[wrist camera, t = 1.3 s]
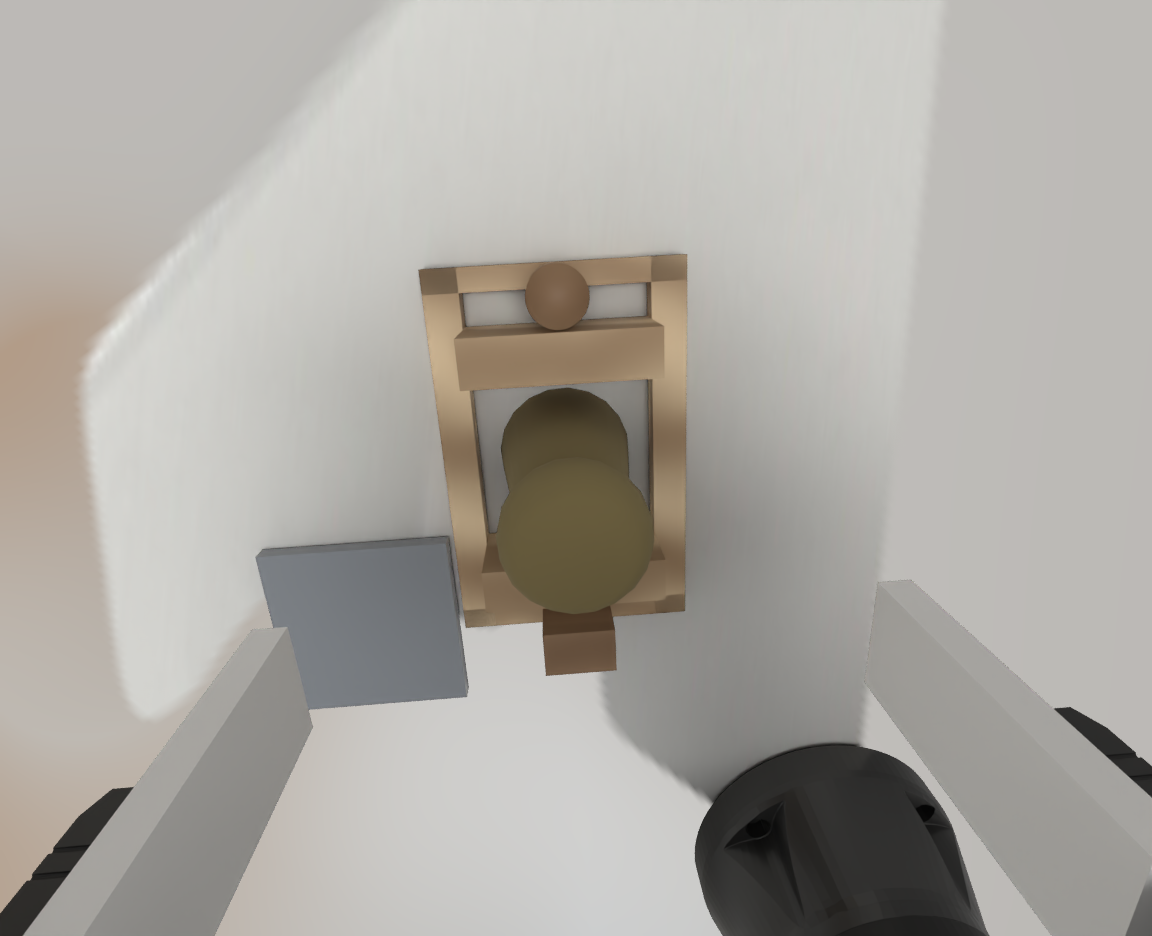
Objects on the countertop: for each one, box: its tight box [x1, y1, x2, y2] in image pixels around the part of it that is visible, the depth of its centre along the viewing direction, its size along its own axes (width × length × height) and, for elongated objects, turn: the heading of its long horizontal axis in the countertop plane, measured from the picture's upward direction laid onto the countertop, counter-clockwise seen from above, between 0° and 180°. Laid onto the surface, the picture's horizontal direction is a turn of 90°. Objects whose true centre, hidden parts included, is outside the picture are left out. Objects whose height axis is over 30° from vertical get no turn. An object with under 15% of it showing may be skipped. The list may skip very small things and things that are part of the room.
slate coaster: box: [255, 536, 469, 710], centre depth 31 cm, size 9×9×1 cm
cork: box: [496, 388, 654, 614], centre depth 24 cm, size 6×6×11 cm
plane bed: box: [419, 254, 687, 676], centre depth 26 cm, size 17×11×6 cm, turn 3°
